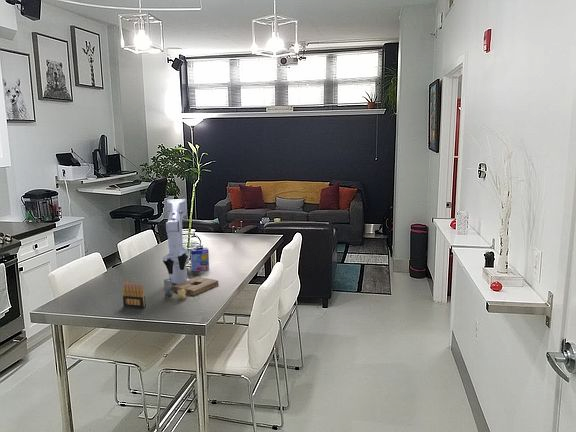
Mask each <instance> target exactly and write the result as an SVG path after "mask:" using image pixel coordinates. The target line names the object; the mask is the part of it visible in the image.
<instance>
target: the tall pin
mask: <svg viewBox="0 0 576 432" xmlns="http://www.w3.org/2000/svg"><path fill="white" fill-rule="evenodd" d="M172 284H173V283H172V282H171V279H169V278H165V279H163V287H164V288H163V289H164V290H163V291H164V297H165V298H170V297H173V285H172Z"/></svg>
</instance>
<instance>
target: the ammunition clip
mask: <svg viewBox="0 0 576 432" xmlns="http://www.w3.org/2000/svg"><path fill="white" fill-rule="evenodd" d="M122 286H123V287H122V294H123V295H122V305H123V306H124V308H137V309H145V308H146V307H147V306H146V296H145V292H144V286H143V283H142V282H140V284H139V281H136V282H135V281H133V282H132V281H130V283H129V281H128V280H126V281H125V280H123V284H122Z"/></svg>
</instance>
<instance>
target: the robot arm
mask: <svg viewBox="0 0 576 432" xmlns="http://www.w3.org/2000/svg"><path fill="white" fill-rule="evenodd" d="M166 211H167V214H168V219H167V221H166V222H165V231H166V235H167V241H168V243H167V244H168V254H166V255H164V256H162V262H163V264H164V265H165V268H166V270H167V273H168V279H171V282H172V284H175V285H178V284H180V283H183V282H185V281H188V280H191V279H192V278H191V279H190V278H188V269H187V268H188V267H187V265H189V262H190V261H189V259H190V256H189V250H188V249H187V248H185V247H184V245H183V243H184V242H183V241H184V240H183V218H184V217H185V216H186V215H187V199H186V198H178V199H167V200H166Z"/></svg>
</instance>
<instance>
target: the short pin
mask: <svg viewBox="0 0 576 432" xmlns="http://www.w3.org/2000/svg"><path fill="white" fill-rule="evenodd" d="M177 298H178V299H177V300H178V301H185V300H186V299H187V294H186V290H185V289H178V292H177Z"/></svg>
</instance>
